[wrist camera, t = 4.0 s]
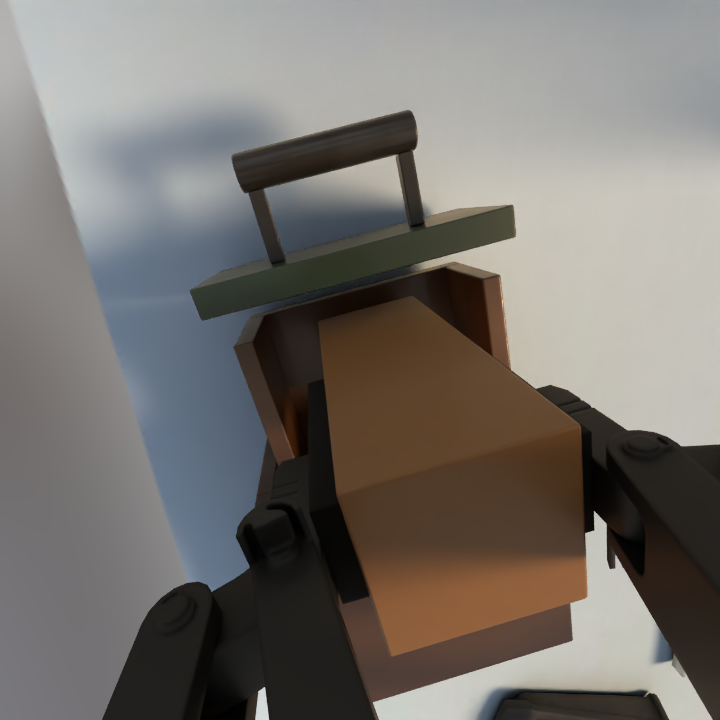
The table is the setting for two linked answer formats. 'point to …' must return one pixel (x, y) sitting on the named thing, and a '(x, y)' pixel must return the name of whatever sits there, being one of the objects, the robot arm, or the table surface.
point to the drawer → (347, 270)
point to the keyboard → (581, 707)
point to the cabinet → (439, 658)
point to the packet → (449, 477)
